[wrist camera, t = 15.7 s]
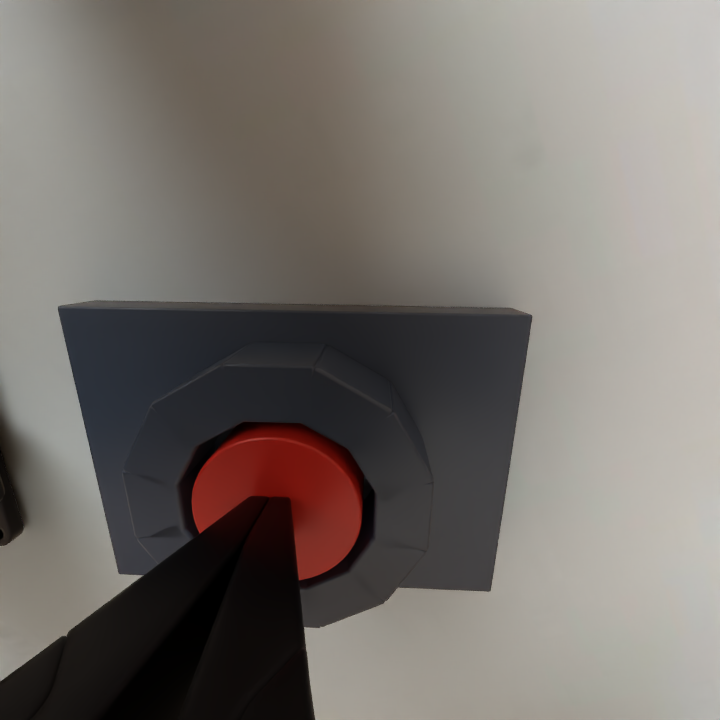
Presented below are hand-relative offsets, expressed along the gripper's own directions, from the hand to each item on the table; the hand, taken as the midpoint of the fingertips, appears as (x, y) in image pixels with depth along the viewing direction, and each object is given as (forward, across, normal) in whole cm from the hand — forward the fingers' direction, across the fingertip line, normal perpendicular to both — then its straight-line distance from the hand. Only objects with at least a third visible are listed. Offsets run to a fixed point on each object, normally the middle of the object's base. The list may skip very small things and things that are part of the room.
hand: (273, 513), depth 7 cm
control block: (+3, 0, 0) cm, 3 cm away
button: (+2, 0, 0) cm, 2 cm away
